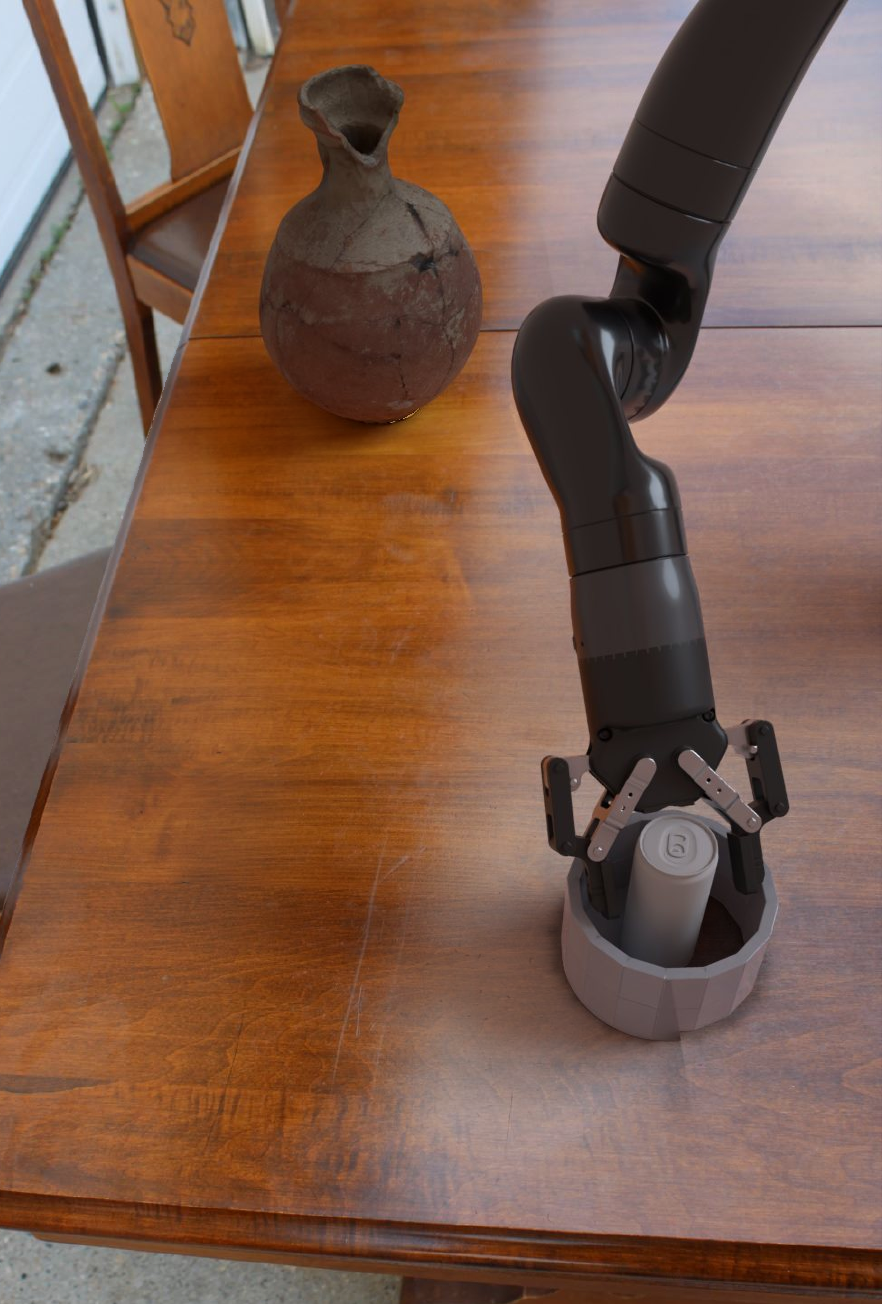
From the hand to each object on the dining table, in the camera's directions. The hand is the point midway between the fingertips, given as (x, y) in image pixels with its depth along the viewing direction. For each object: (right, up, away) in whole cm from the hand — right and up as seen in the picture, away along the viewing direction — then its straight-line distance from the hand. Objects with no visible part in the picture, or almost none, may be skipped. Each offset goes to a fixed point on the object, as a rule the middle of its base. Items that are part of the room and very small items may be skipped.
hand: (679, 904), depth 74 cm
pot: (0, -4, +7) cm, 8 cm away
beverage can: (0, -4, +7) cm, 8 cm away
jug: (-17, +48, +50) cm, 71 cm away
